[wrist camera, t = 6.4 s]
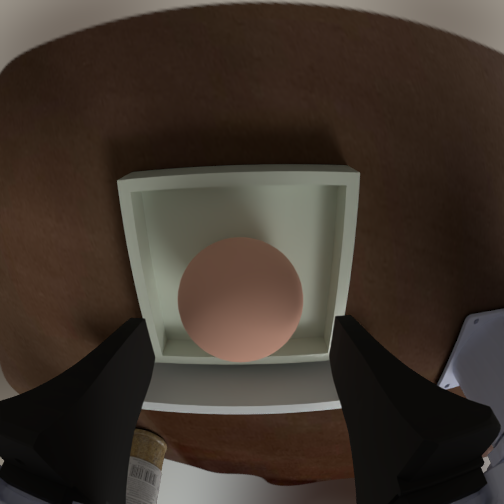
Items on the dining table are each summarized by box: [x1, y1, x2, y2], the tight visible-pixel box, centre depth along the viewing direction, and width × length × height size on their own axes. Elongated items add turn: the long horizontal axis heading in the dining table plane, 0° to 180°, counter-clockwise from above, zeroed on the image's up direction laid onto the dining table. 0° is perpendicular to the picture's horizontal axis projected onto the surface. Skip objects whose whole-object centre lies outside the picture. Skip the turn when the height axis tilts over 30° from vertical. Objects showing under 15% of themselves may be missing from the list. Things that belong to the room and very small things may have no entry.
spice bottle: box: [126, 429, 167, 504], centre depth 19 cm, size 5×5×14 cm
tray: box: [117, 164, 360, 365], centre depth 16 cm, size 11×11×2 cm
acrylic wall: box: [141, 360, 342, 414], centre depth 18 cm, size 18×1×4 cm, turn 91°
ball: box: [178, 237, 303, 362], centre depth 14 cm, size 6×6×6 cm
